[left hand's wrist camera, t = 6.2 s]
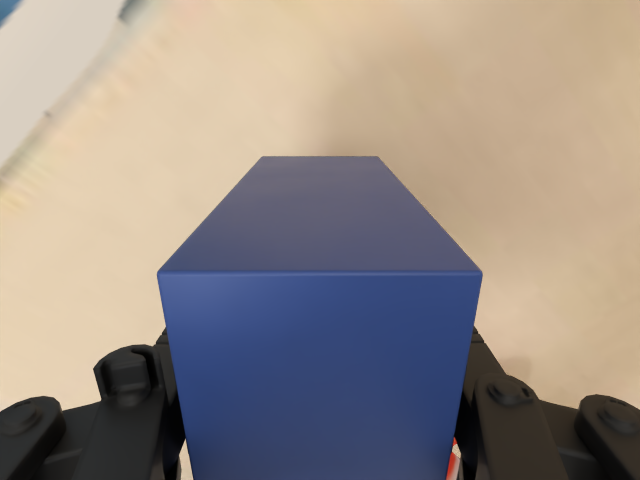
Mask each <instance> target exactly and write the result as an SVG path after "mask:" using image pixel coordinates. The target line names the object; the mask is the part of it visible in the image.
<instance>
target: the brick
mask: <svg viewBox="0 0 640 480" xmlns="http://www.w3.org/2000/svg"><path fill="white" fill-rule="evenodd" d="M482 276H483V274H482V271H481V270H480V269H479V268H478V266H477V265H476V264H475V263H474V262H473V261H472V260H471V259H470V258H469V257H468V255H467V254H466V253H465V252H464V251H463V250H462V249H461V248H460V247H459V246H458V244H457V243H456V242H455V241H454V240H453V239H452V238H451V237H450V236H449V235H448V233H447V232H446V231H445V230H444V229H443V228H442V227H441V226H440V225H439V223H438V222H437V221H436V220H435V219H434V218H433V217H432V216H431V215H430V214H429V212H428V211H427V210H426V209H425V208H424V207H423V206H422V205H421V204H420V203H419V201H418V200H417V199H416V198H415V197H414V196H413V195H412V194H411V193H410V192H409V190H408V189H407V188H406V187H405V186H404V185H403V184H402V183H401V182H400V181H399V179H398V178H397V177H396V176H395V175H394V174H393V173H392V172H391V171H390V170H389V168H388V167H387V166H386V165H385V164H384V163H383V162H382V161H381V160H380V159H379V157H377V156H263V157H261V158H260V159H259V160H258V162H257V163H256V164H255V165H254V166H253V167H252V168H251V169H250V170H249V171H248V173H247V174H246V175H245V176H244V177H243V178H242V179H241V180H240V181H239V182H238V184H237V185H236V186H235V187H234V188H233V189H232V190H231V191H230V192H229V193H228V195H227V196H226V197H225V198H224V199H223V200H222V201H221V202H220V203H219V204H218V206H217V207H216V208H215V209H214V210H213V211H212V212H211V213H210V214H209V215H208V217H207V218H206V219H205V220H204V221H203V222H202V223H201V224H200V225H199V226H198V228H197V229H196V230H195V231H194V232H193V233H192V234H191V235H190V236H189V237H188V239H187V240H186V241H185V242H184V243H183V244H182V245H181V246H180V247H179V248H178V249H177V251H176V252H175V253H174V254H173V255H172V256H171V257H170V258H169V259H168V260H167V262H166V263H165V264H164V265H163V266H162V267H161V268H160V269H159V270H158V272H157V279H158V284H159V290H160V295H161V301H162V307H163V312H164V318H165V323H166V329H167V335H168V340H169V346H170V351H171V357H172V363H173V368H174V374H175V379H176V385H177V390H178V396H179V402H180V407H181V413H182V418H183V424H184V430H185V435H186V441H187V446H188V452H189V458H190V463H191V469H192V474H193V480H446V478H447V472H448V467H449V461H450V456H451V450H452V444H453V439H454V433H455V427H456V422H457V416H458V411H459V405H460V399H461V394H462V388H463V383H464V377H465V371H466V366H467V360H468V355H469V349H470V343H471V338H472V332H473V327H474V321H475V315H476V310H477V304H478V299H479V293H480V287H481V282H482Z"/></svg>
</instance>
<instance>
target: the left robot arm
mask: <svg viewBox="0 0 640 480" xmlns="http://www.w3.org/2000/svg"><path fill="white" fill-rule="evenodd" d="M93 370H94V374H95V377H96V381H97V385H98V388H99V392H100V395H101V401H100V402H96V403H93V404H89V405H85V406H81V407H77V408H72V409H68V410H64V411H62V409H61V406H60V403H59V402H58V401H57V400H56V399H55V398H53V397H47V396H40V397H33V398H29V399H26V400H23V401H20V402H17V403H15V404H13V405H11V406H10V407H8V408H6V409H4V410H2V411H1V412H0V480H181V463H180V458H179V454H180V451H181V448H182V446H183V443H184V441H185V438H186V435H185V430H184V424H183V418H182V413H181V407H180V402H179V396H178V390H177V385H176V379H175V374H174V368H173V363H172V357H171V351H170V346H169V340H168V335H167V329H166V328H165V329H164V331H163V332H162V335H160V337H159V338H158V340H157V341H156V345H154V346H153V347H152V346H148V345H131V346H127V347H123V348H120V349H118V350H115V351H113V352H111V353H109V354H108V355H106V356H105V357H103V358H102V359H101V360H99V362H98V363H97V364H96V366H95V367H94V368H93ZM454 437H455V440H456V442H457V445H458V447H459V450H460V452H461V458H460V463H459V468H458V473H457V478H456V480H640V410H639V409H637V408H636V407H634V406H632V405H630V404H628V403H626V402H625V401H622V400H619V399H616V398H613V397H610V396H604V395H597V394H596V395H590V396H586V397H585V398H584V399H582V400H581V402H580V405H579V408H578V409H574V408H570V407H566V406H561V405H557V404H553V403H549V402H545V401H542V400H539V399H538V397H537V395H536V394H535V392H534V391H533V390H532V389H531V388H530V387H529V386H528V385H526V384H525V383H524V382H522V381H520V380H518V379H517V378H515V377H513V376H509V375H506V373H505V372H504V370H503V369H502V367H501V366H500V364H499V363H498V361H497V360H496V358H495V357H494V355H493V354H492V352H491V351H490V349H489V348H488V346H487V345H486V343H484V340H483V339H482V337H481V336H480V334H478V331H477V329H476V328H475V326H474V327H473V332H472V338H471V343H470V349H469V355H468V360H467V366H466V371H465V377H464V383H463V388H462V394H461V399H460V405H459V411H458V416H457V422H456V427H455V433H454ZM453 442H454V439H453ZM186 443H187V441H186ZM452 447H453V444H452ZM187 449H188V446H187ZM451 453H452V450H451ZM188 454H189V452H188Z"/></svg>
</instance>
